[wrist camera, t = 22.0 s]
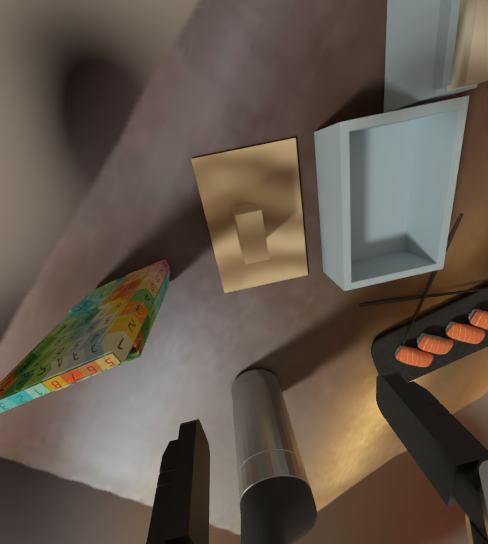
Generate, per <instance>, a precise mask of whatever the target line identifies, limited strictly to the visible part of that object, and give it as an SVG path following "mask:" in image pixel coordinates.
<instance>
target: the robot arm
mask: <svg viewBox="0 0 488 544" xmlns="http://www.w3.org/2000/svg"><path fill="white" fill-rule="evenodd" d="M232 401H233V416H234V430H235V444H236V457H237V471H238V483H239V497H240V511H241V544H293V543H295V542H296V541H298V540H299V539H301V538H302V537H303V536H305V535H306V534H307V533H308V532H309V531H310V530H311V529H312V527H313V526H314V524H315V522H316V519H317V510H316V505H315V501H314V498H313V495H312V491H311V488H310V485H309V482H308V478H307V475H306V472H305V468H304V465H303V462H302V458H301V455H300V452H299V448H298V445H297V442H296V438H295V435H294V432H293V428H292V425H291V422H290V418H289V415H288V411H287V408H286V405H285V401H284V398H283V394H282V391H281V388H280V384H279V381H278V379H277V377H276V376H275V375H274V374H273V373H271V372H269V371H267V370H262V369H256V370H250V371H247V372H245V373H243V374H241V375H240V376H239V377H237V379H236V380H235V381H234V383H233V385H232ZM376 401H377V404H378V407H379V409H380V411H381V413H382V415H383V416H384V418H385V419H386V420H387V422H388V423H389V425H390V426H391V427H392V429H393V430H394V432H395V433H396V435H397V436H398V437H399V439H400V440H401V442H402V443H403V444H404V446H405V447H406V449H407V450H408V452H409V453H410V454H411V456H412V457H413V459H414V460H415V461H416V463H417V464H418V466H419V467H420V469H421V470H422V471H423V473H424V474H425V476H426V477H427V478H428V480H429V481H430V483H431V484H432V485H433V487H434V488H435V490H436V491H437V492H438V494H439V495H440V497H441V498H442V500H443V501H444V502H445V504H446V505H447V506H450V505H454V504H459V505H460V507H461V508H462V509H463V510H464V512H465V513H466V523H467V530H468V537H469V543H470V544H488V450H487V449H486V448H485V447H484V446H483V445H482V444H481V443H480V442H479V441H478V440H477V439H476V438H475V437H474V436H473V435H472V434H471V433H470V432H469V431H468V430H467V429H466V428H465V427H464V426H463V425H462V424H461V423H460V422H459V421H458V420H457V419H456V418H455V417H454V416H453V415H452V414H450V413H449V411H448V410H447V409H446V408H445V407H444V406H443V405H442V404H440V403H439V401H438V400H437V399H436V398H435V397H434V396H433V395H432V394H431V393H430V392H429V391H428V390H427V389H425V388H423V387H422V386H420V385H418V384H417V383H415V382H413V381H412V382H408V383H407V382H406V381H405V380H404V379H403V378H402V377H401V375H400V374H398V373H397V372H395V371H393V372H389V373H385V374H381V375H378V376H377V385H376ZM209 485H210V451H209V444H208V441H207V438H206V435H205V433H204V430H203V428H202V425H201V423H200V421H199V419H197V420H193V421H189V422H185V423H182V424H181V425H180V429H179V436H178V439H177V440H173V441H170V442H169V444H168V446H167V448H166V450H165V452H164V454H163V456H162V461H161V467H160V475H159V478H158V483H157V488H156V494H155V499H154V505H153V510H152V516H151V522H150V527H149V532H148V538H147V542H146V544H209Z"/></svg>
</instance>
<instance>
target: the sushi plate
mask: <svg viewBox="0 0 488 544" xmlns="http://www.w3.org/2000/svg"><path fill="white" fill-rule="evenodd" d="M462 216H463V214H460V215H459V217H458V219H457V221H456V223H455V225H454V227H453V228H452V230H451V232H450V234H449V236H448V240H447V246H446V251H447V249H448V247H449V245H450V243H451V240H452V238H453V236H454V234H455V232H456V229H457V227H458V225H459V223H460V221H461V218H462ZM445 254H446V253H445ZM437 271H438V270H435V271H433V272H432V274H431V277H430V279H429V282H428V284H427V286H426V289H425V291H424V293H423V295H420V296H411V297H401V298H392V299H386V300H380V301H373V302H367V303H361V304H359V306H368V305H376V304H383V303H391V302H399V301H406V300H413V299H420V298H421V300H420V303H419V305H418V307H417V310H416V312H415V314H414V317H413V319H412V321H411V322H410V323H408V324H405V325H403V326H401V327H399V328H397V329H395V330H393V331H391V332H389V333H387V334H385V335H383V336H382V337H380V338H379V339H377V340H376V341H375V342H374V343H373V344H372V347H371V354H372V358H373V361H374V363H375V366H376V369H377V371H378V374H379V375H381V374H385V373H389V372H393V371H395V372H397V373H398V374H400V375H401V377H402V378H403V379H404V380H405V381H406V382H410V381H412V380H414V379H416V378H419V377H421V376H423V375H425V374H427V373H430V372H432V371H434V370H436V369H439V368H441V367H443V366H445V365H447V364H450V363H452V362H454V361H456V360H458V359H461V358H463V357H465V356H467V355H470V354H472V353H474V352H476V351H478V350H481V349H483V348H485V347H487V346H488V286H485V287H483V288H481V289H473V290H465V291H456V292H447V293H439V294H430V295H426V294H427V292H428V290H429V288H430V286H431V284H432V281H433V279H434V277H435V275H436V273H437ZM467 292H473V293H471V294H469V295H466V296H464V297H462V298H460V299H458V300H456V301H454V302H452V303H450V304H447V305H445V306H443V307H441V308H439V309H437V310H435V311H433V312H431V313H429V314H426V315H424V316H422V317H420V318H418V319H416V317H417V314H418V312H419V310H420V308H421V306H422V303H423V301H424V299H425V298H428V297H435V296H443V295H451V294H459V293H467ZM415 319H416V320H415Z"/></svg>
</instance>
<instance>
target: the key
mask: <svg viewBox="0 0 488 544" xmlns="http://www.w3.org/2000/svg"><path fill="white" fill-rule="evenodd" d="M485 81H488V0H461V2H460V10H459V18H458V26H457V34H456V42H455V50H454V58H453V66H452V75H451V83H450V85H449V86H447V91H451V90H456V89H461V88H465V87H470V86H473V85H476V84H479V83H482V82H485Z"/></svg>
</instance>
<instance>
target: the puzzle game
mask: <svg viewBox="0 0 488 544" xmlns="http://www.w3.org/2000/svg"><path fill="white" fill-rule="evenodd" d="M169 277H170V266H169V264H168V263H167V261H166V260H161V261H159V262H156V263H154V264H152V265H149V266H147V267H145V268H143V269H140V270H138V271H134V272H132V273H130V274H128V275H126V276H124V277H122V278H120V279H116V280H114V281H112V282H109V283H107V284H106V285H104V286H101V287H99V288H97V289H94V290H92V291H91V292H90V293H89V294H88V295H87V296H86V297H85V298H84V299H83V300H82V301H81V302H80V303H79V304H78V305H76V306H75V307H73V308H72V309H71V310H70V313H69V314H68V315H67V316H66V317H65V318H64V319H63V320H62V321H61V322H60V323H59V324H58V325H57V326H56V327H55V328H54V329H53V330H52V331H51V332H50V333H49V334H48V335H47V336H46V337H45V338H44V339H43V340H42V341H41V342H40V343H39V344H38V345H37V346H36V347H35V348H34V349H33V350H32V351H31V352H30V353H29V354H28V355H27V356H26V357H25V358H24V359H23V360H22V361H21V362H20V363H19V364H18V365H17V366H16V367H15V368H14V369H13V370H12V371H11V372H10V373H9V374H8V375H7V376H6V377H5V378H4V379H3V380H2V381H1V382H0V413H1V412H4V411H6V410H9V409H11V408H13V407H16V406H18V405H21V404H23V403H25V402H28V401H30V400H33V399H35V398H37V397H40V396H42V395H45V394H47V393H50V392H52V391H57V390H60V389H62V388H65V387H67V386H70V385H72V384H74V383H77V382H79V381H82V380H84V379H87V378H89V377H91V376H94V375H96V374H99V373H101V372H103V371H106V370H108V369H111V368H113V367H116V366H118V365H120V364H123V363H125V362H128V361H130V360H132V359H135V358H137V357H140V355H141V352H142V350H143V347H144V345H145V343H146V340H147V338H148V335H149V333H150V330H151V328H152V325H153V323H154V321H155V318H156V316H157V313H158V311H159V308H160V306H161V303H162V301H163V299H164V296H165V294H166V291H167V289H168V284H169Z"/></svg>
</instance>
